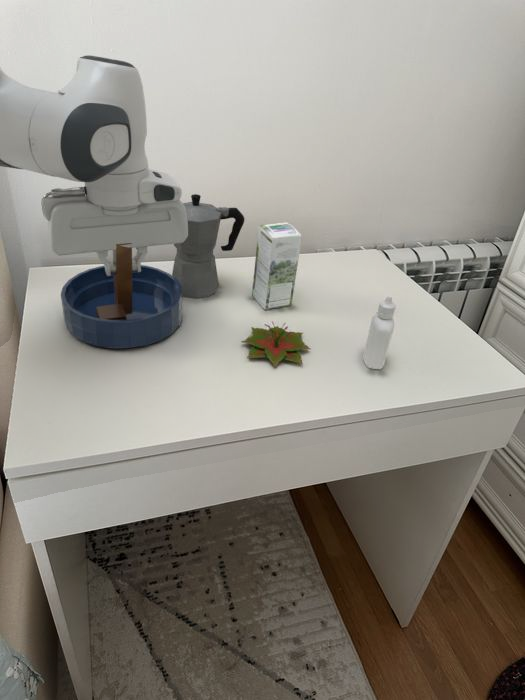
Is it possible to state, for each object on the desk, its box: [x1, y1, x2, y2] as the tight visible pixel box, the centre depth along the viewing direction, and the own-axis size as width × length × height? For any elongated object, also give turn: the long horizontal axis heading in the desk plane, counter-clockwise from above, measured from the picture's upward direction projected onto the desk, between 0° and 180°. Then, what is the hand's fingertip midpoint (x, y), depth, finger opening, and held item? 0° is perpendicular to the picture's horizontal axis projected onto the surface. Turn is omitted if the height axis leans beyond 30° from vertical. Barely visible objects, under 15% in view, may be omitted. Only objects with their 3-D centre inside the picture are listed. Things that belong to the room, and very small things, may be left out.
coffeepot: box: [171, 193, 245, 299], centre depth 97 cm, size 15×9×18 cm, turn 103°
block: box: [96, 304, 127, 320], centre depth 85 cm, size 4×4×4 cm
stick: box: [112, 243, 133, 314], centre depth 85 cm, size 2×2×14 cm
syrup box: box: [251, 221, 303, 311], centre depth 96 cm, size 6×6×14 cm
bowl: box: [60, 264, 183, 349], centre depth 90 cm, size 19×19×6 cm
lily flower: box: [241, 320, 311, 368], centre depth 86 cm, size 12×12×5 cm
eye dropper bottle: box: [362, 294, 396, 370], centre depth 84 cm, size 4×6×12 cm
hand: (123, 272), depth 84 cm, fingers closed on stick, 2 cm apart
